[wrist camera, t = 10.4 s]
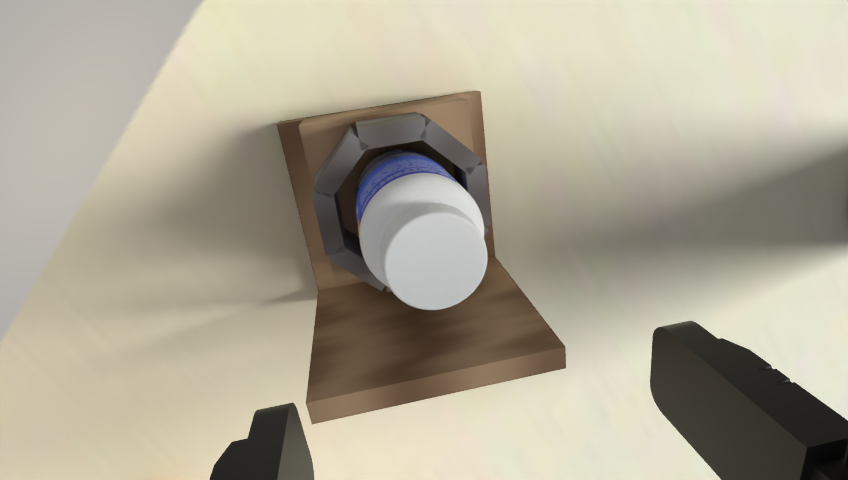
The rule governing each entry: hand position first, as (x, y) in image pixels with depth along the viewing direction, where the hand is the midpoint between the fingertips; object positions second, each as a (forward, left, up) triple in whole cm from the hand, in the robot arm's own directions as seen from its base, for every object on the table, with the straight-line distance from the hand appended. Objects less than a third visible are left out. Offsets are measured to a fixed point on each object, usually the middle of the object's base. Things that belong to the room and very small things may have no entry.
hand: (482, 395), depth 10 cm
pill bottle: (0, 0, -17) cm, 17 cm away
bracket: (0, +2, -21) cm, 21 cm away
